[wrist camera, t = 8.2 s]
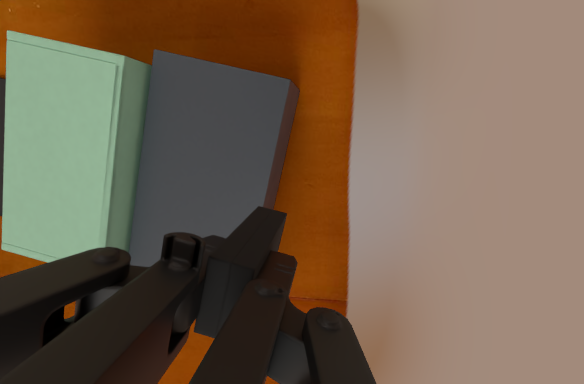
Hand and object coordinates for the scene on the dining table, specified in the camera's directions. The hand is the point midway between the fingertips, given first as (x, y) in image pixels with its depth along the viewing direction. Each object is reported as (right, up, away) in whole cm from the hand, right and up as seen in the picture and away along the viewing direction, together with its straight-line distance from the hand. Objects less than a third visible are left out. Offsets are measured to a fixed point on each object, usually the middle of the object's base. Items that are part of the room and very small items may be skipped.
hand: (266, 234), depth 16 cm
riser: (-5, +4, +14) cm, 15 cm away
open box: (-11, +4, +10) cm, 15 cm away
